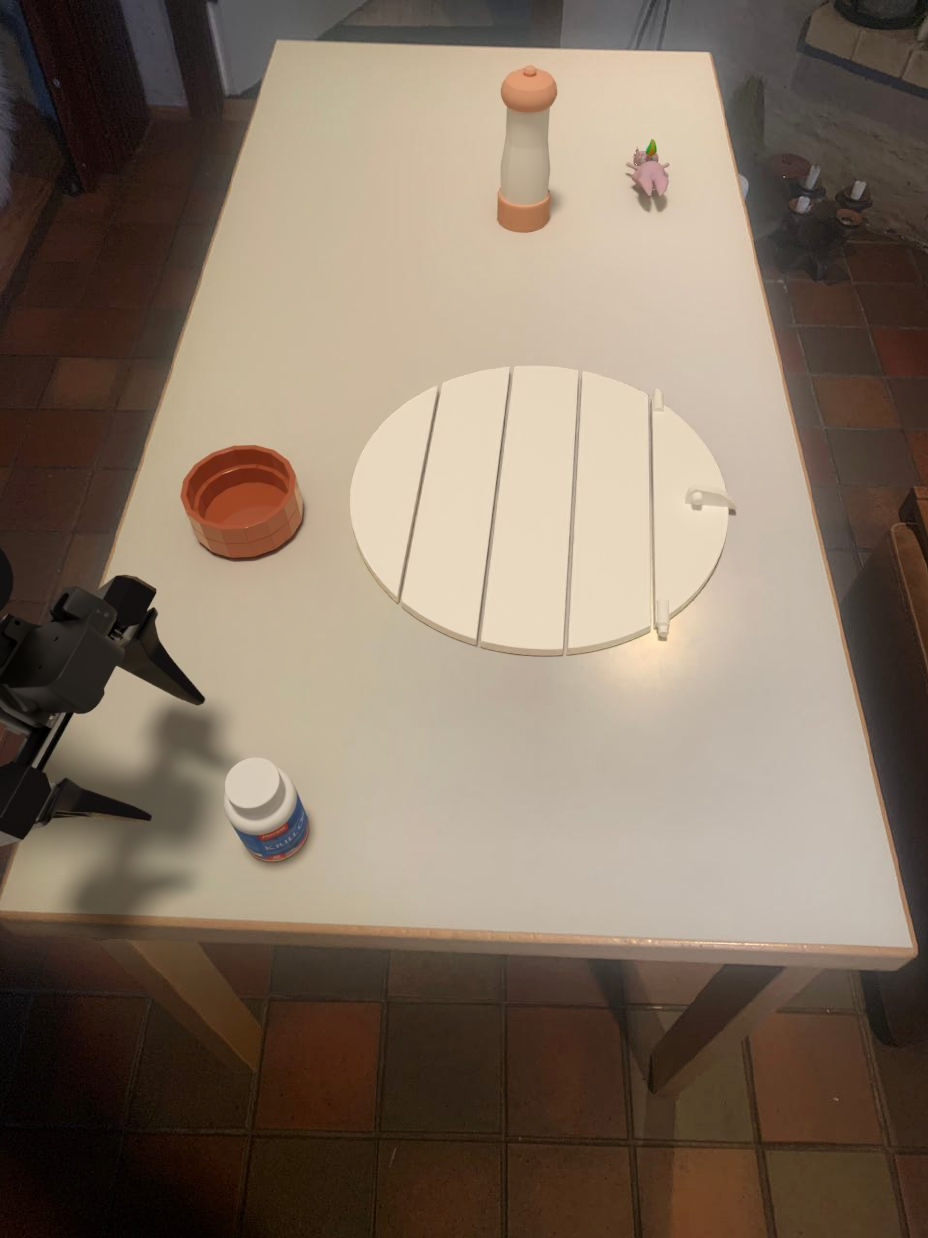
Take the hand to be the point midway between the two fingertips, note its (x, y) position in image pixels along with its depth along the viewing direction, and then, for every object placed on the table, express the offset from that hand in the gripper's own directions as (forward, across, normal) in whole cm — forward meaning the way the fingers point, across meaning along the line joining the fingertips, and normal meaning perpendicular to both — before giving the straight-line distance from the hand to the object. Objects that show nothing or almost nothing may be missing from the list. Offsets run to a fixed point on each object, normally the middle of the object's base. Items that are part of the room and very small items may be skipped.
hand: (176, 758), depth 60 cm
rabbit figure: (+26, +103, -9) cm, 107 cm away
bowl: (+2, +31, +15) cm, 34 cm away
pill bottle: (+12, 0, +5) cm, 13 cm away
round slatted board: (+22, +40, -6) cm, 46 cm away
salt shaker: (+14, +91, +2) cm, 92 cm away
